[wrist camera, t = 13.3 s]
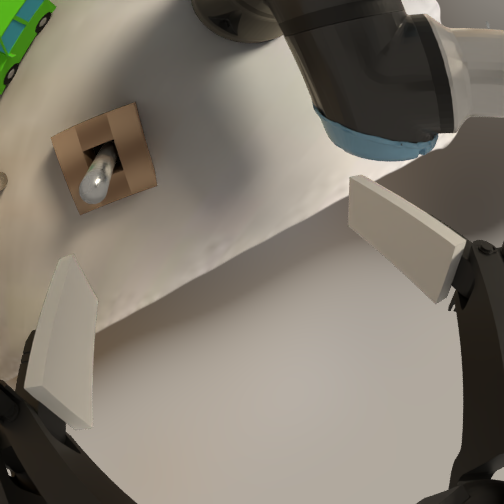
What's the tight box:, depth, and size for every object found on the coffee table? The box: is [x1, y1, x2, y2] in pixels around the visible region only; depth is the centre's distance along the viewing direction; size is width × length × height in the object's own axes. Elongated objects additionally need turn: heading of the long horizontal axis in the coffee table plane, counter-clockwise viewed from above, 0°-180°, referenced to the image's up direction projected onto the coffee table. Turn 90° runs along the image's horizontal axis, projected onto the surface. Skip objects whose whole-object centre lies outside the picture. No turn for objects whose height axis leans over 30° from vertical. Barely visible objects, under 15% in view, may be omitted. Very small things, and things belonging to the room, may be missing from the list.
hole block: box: [51, 102, 157, 215], centre depth 30 cm, size 10×10×6 cm
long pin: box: [79, 141, 118, 204], centre depth 26 cm, size 2×2×16 cm
